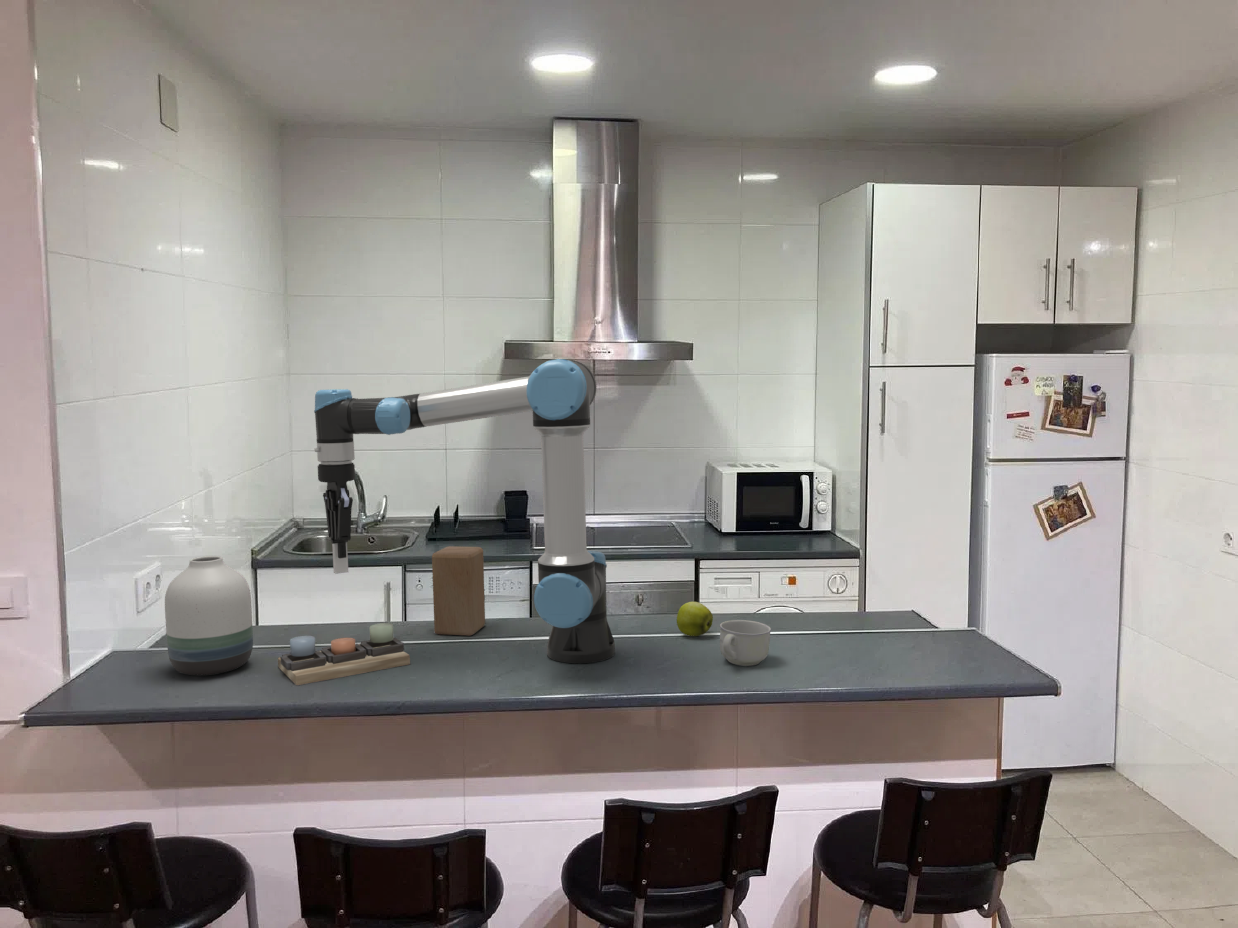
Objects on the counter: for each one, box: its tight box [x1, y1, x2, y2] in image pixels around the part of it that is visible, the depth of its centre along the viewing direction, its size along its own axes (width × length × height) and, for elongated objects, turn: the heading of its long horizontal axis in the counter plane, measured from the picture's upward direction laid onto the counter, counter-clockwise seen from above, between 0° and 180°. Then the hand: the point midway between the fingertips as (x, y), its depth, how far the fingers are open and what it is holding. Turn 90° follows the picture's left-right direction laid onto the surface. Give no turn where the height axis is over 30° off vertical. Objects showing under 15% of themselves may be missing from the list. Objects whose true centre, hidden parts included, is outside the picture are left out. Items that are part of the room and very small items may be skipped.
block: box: [431, 545, 486, 637], centre depth 232 cm, size 10×10×20 cm
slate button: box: [289, 635, 317, 656], centre depth 201 cm, size 5×5×3 cm
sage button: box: [369, 622, 394, 643], centre depth 210 cm, size 5×5×3 cm
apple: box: [676, 601, 714, 637], centre depth 225 cm, size 8×9×8 cm
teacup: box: [719, 619, 772, 667], centre depth 203 cm, size 14×11×8 cm
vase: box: [164, 555, 254, 676], centre depth 204 cm, size 17×17×24 cm
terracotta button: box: [330, 637, 356, 655], centre depth 206 cm, size 5×5×3 cm
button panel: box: [277, 637, 411, 686], centre depth 206 cm, size 15×25×4 cm, turn 123°
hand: (341, 572), depth 205 cm, fingers closed
